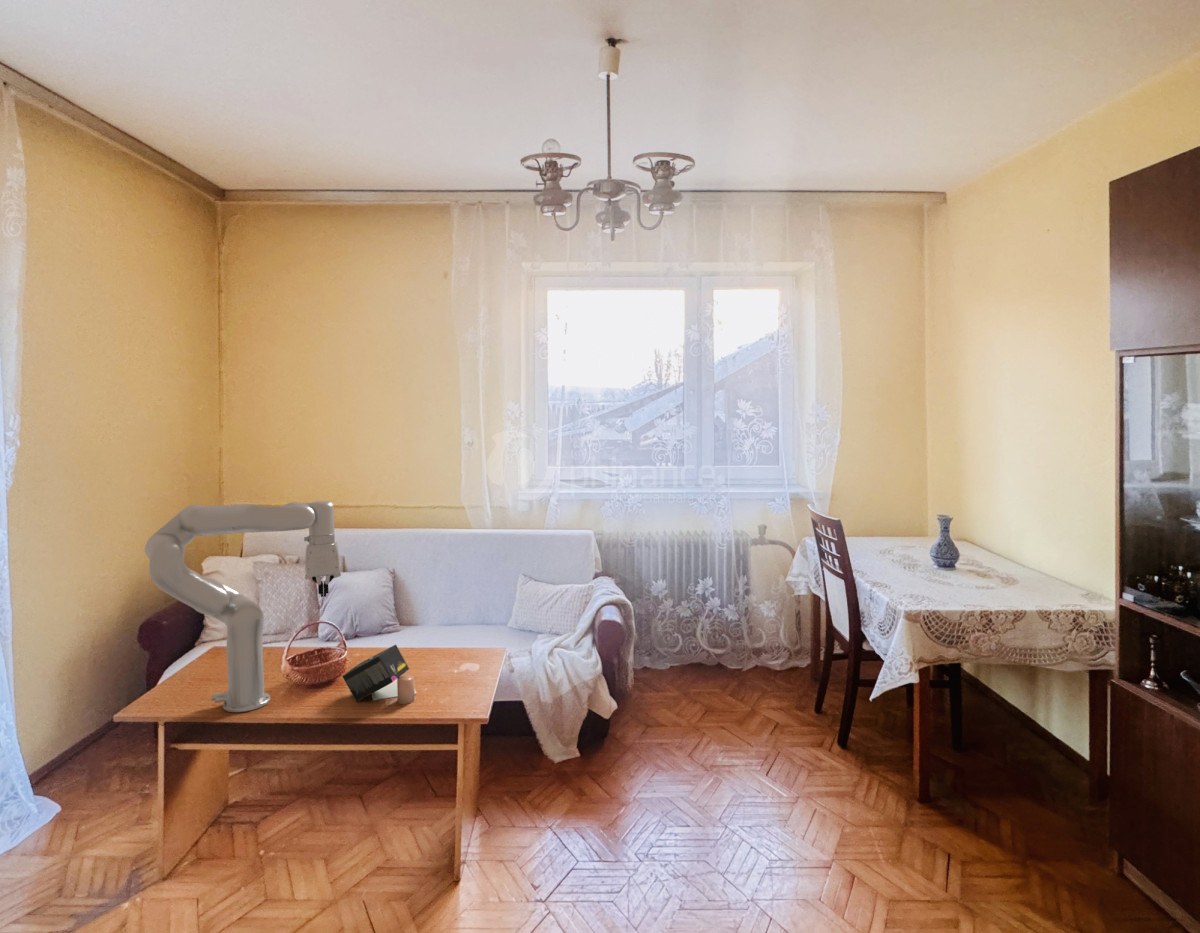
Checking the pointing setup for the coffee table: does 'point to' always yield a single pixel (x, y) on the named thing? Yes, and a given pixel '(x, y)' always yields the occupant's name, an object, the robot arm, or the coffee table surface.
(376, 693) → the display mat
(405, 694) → the peg
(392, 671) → the tampon box
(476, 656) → the coffee table surface
